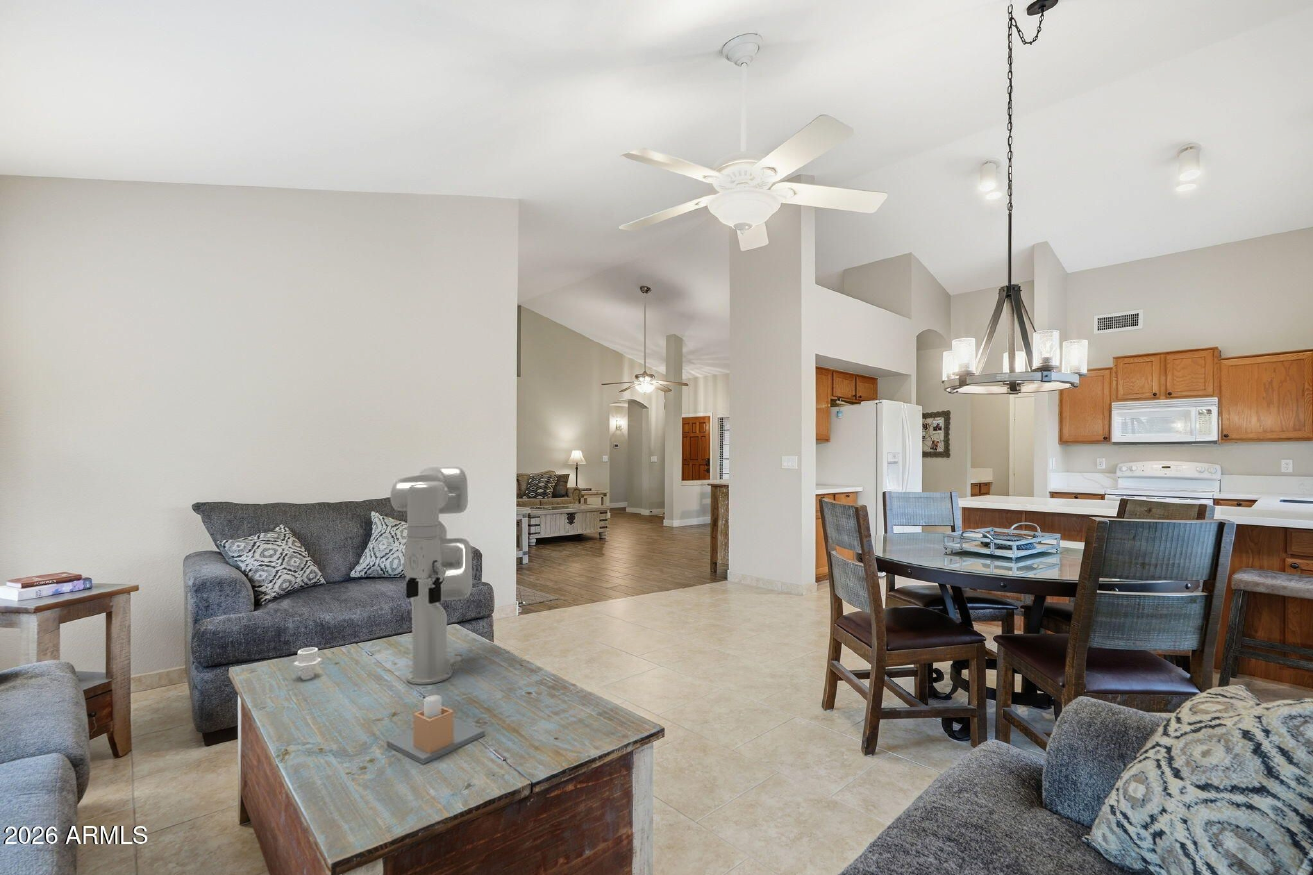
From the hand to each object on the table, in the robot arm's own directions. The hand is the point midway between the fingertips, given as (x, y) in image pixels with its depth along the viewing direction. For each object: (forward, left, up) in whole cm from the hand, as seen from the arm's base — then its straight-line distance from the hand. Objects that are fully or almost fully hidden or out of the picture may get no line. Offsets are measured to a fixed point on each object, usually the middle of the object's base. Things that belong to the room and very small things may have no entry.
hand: (423, 599), depth 155 cm
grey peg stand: (+7, +16, -28) cm, 33 cm away
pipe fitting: (+6, -49, -28) cm, 57 cm away
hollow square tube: (+10, +19, -27) cm, 35 cm away
